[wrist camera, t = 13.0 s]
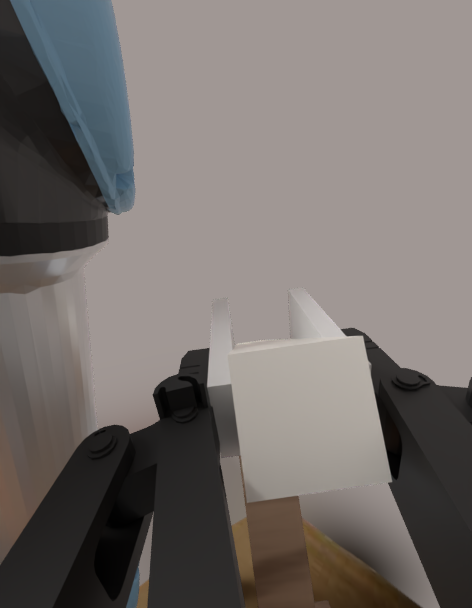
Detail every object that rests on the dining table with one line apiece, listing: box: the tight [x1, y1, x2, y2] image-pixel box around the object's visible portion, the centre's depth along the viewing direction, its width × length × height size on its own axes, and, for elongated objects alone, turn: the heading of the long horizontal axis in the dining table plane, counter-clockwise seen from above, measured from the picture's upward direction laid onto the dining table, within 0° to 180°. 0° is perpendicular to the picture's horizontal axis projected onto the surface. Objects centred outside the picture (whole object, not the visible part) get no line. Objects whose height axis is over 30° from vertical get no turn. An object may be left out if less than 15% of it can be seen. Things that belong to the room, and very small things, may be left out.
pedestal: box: [239, 455, 331, 608], centre depth 33 cm, size 12×12×30 cm
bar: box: [228, 336, 392, 503], centre depth 18 cm, size 24×3×3 cm, turn 179°
